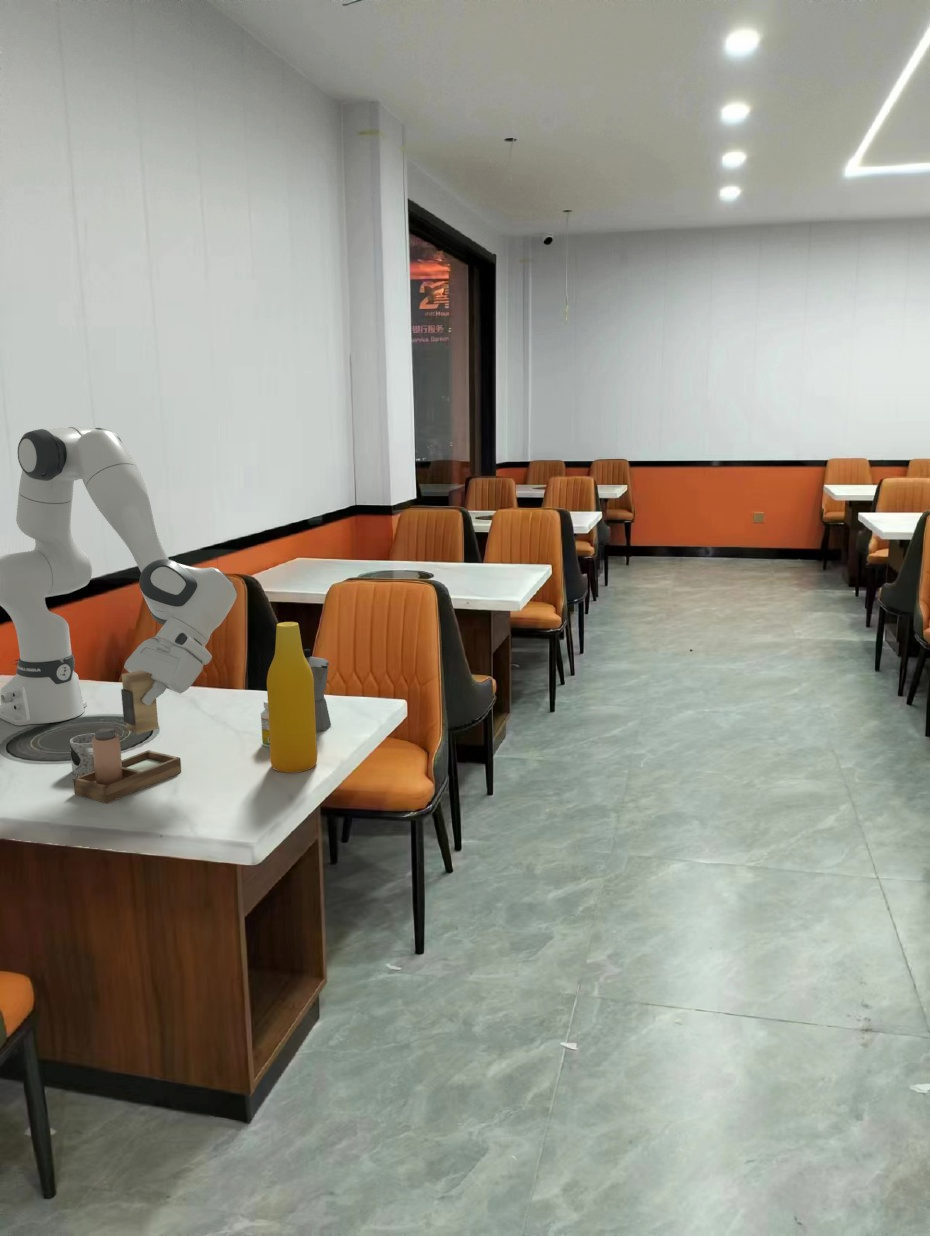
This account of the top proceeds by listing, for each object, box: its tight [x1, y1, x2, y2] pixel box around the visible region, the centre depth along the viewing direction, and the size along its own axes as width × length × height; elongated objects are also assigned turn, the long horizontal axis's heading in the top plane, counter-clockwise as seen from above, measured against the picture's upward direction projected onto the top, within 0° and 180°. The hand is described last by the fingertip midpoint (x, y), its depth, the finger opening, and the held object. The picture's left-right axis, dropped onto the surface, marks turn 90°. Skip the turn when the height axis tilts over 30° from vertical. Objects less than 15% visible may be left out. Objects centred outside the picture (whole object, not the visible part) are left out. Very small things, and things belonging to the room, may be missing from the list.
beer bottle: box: [266, 621, 318, 773], centre depth 196 cm, size 9×9×29 cm
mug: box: [69, 732, 95, 777], centre depth 195 cm, size 10×7×7 cm
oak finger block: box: [120, 670, 159, 735], centre depth 191 cm, size 4×5×11 cm
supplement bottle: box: [260, 698, 270, 748], centre depth 211 cm, size 5×5×10 cm
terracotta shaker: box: [92, 727, 123, 786], centre depth 185 cm, size 5×5×10 cm
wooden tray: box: [72, 749, 182, 804], centre depth 190 cm, size 9×18×3 cm, turn 149°
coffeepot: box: [303, 648, 332, 733], centre depth 222 cm, size 15×9×18 cm, turn 49°
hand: (136, 700), depth 190 cm, fingers closed on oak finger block, 4 cm apart
